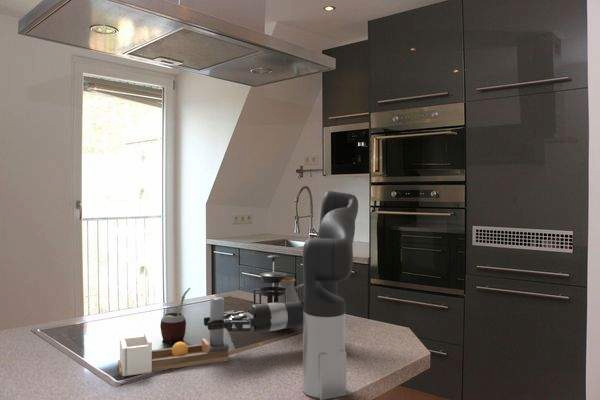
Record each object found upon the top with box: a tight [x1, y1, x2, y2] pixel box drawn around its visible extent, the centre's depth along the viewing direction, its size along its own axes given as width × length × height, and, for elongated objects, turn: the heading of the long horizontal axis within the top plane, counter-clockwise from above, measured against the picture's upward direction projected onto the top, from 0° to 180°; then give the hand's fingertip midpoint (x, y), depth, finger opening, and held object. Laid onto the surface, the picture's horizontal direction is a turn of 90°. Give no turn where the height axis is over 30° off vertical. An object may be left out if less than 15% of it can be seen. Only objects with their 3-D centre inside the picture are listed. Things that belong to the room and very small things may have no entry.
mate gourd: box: [159, 287, 191, 347], centre depth 135 cm, size 8×8×15 cm
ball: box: [171, 341, 189, 356], centre depth 119 cm, size 4×4×4 cm
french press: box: [253, 254, 288, 305], centre depth 153 cm, size 12×9×23 cm
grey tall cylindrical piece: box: [201, 296, 229, 353], centre depth 122 cm, size 6×6×14 cm
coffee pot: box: [278, 277, 304, 303], centre depth 166 cm, size 21×12×15 cm, turn 89°
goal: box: [119, 331, 153, 377], centre depth 114 cm, size 9×6×7 cm
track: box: [117, 343, 229, 377], centre depth 118 cm, size 8×26×2 cm, turn 115°
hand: (206, 323), depth 121 cm, fingers closed on grey tall cylindrical piece, 3 cm apart
